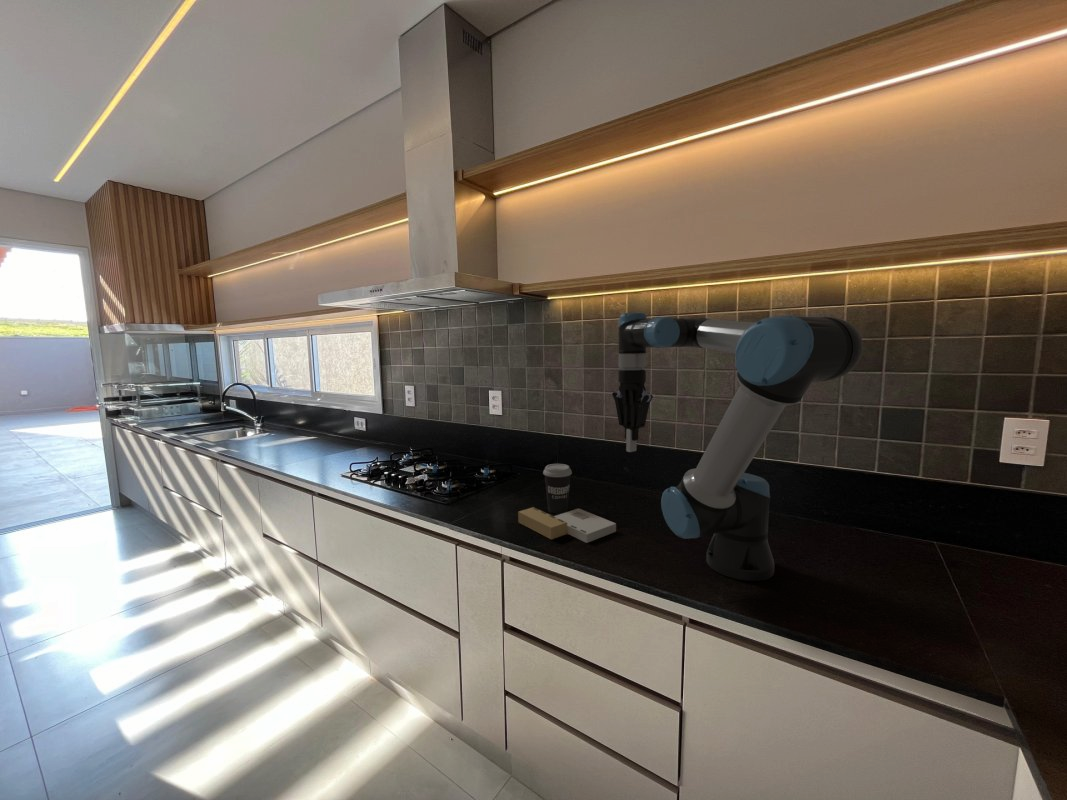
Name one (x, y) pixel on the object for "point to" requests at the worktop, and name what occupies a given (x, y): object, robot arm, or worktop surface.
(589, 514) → the flat white box
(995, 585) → the worktop surface
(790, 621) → the worktop surface
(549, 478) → the coffee cup
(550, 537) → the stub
